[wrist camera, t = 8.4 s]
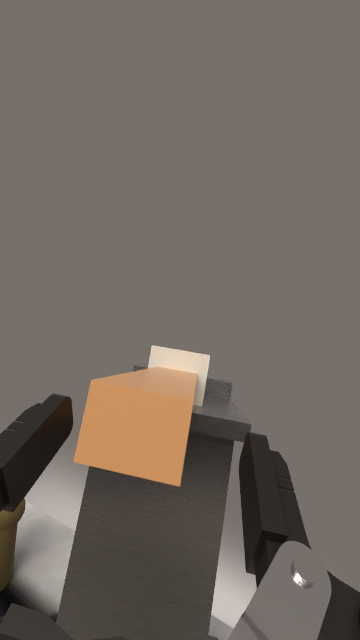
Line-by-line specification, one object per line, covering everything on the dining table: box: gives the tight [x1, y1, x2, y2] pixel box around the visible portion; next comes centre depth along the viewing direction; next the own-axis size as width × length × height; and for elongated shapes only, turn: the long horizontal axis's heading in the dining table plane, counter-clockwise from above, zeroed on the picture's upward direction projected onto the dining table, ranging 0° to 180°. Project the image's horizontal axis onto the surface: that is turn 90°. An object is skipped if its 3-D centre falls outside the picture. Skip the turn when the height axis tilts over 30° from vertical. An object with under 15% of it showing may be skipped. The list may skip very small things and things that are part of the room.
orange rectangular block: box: [74, 346, 210, 487], centre depth 21 cm, size 6×24×5 cm, turn 176°
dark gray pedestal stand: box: [56, 365, 251, 640], centre depth 26 cm, size 20×16×34 cm
